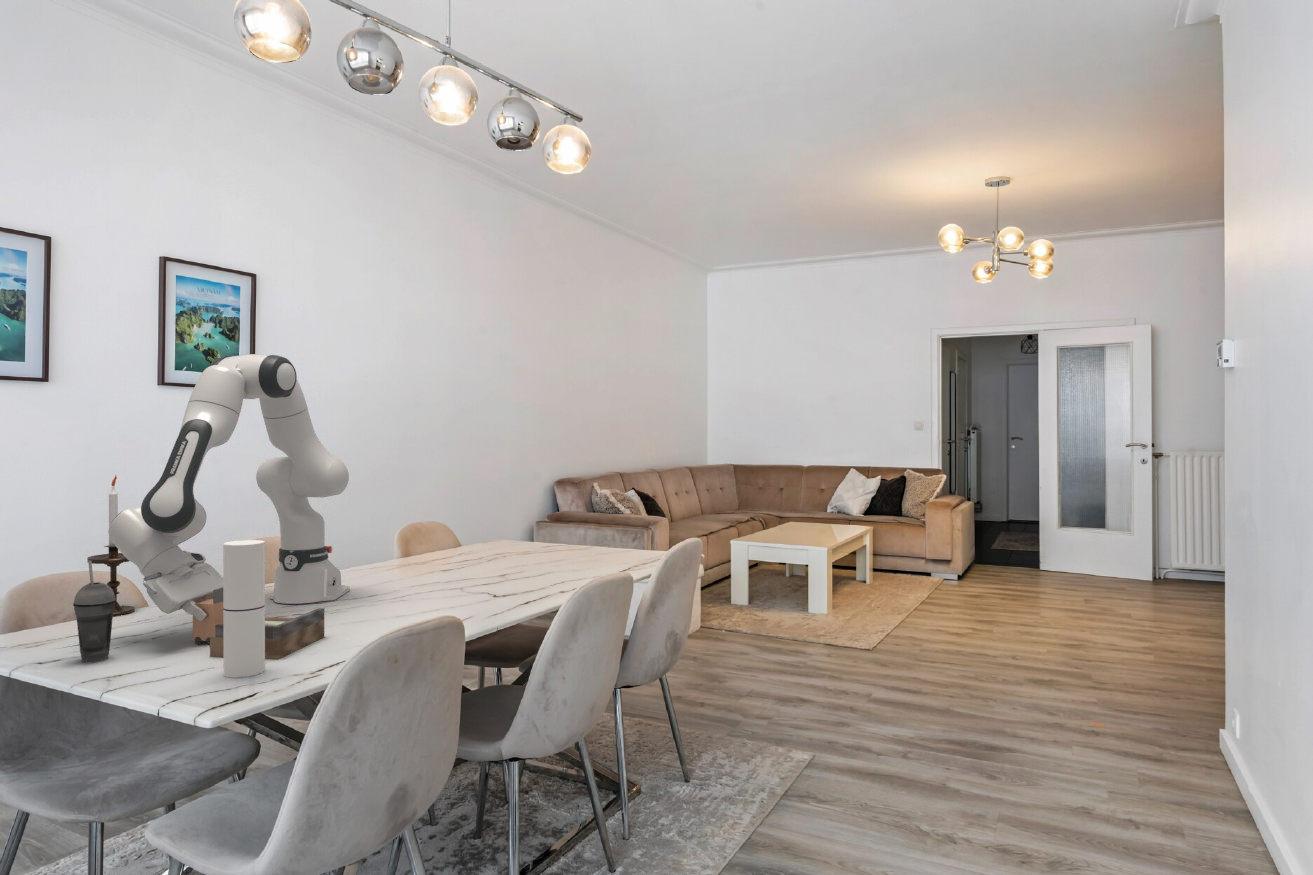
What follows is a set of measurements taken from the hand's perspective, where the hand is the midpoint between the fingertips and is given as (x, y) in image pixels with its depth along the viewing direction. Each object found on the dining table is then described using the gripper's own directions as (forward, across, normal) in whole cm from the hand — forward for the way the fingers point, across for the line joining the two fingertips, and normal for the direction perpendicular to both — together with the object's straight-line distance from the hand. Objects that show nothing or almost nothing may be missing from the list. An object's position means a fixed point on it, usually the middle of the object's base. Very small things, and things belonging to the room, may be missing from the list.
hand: (213, 614), depth 180 cm
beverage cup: (-7, -15, +16) cm, 23 cm away
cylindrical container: (+17, -22, -9) cm, 29 cm away
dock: (+14, -3, -6) cm, 16 cm away
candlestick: (-24, +26, +33) cm, 48 cm away
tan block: (+4, 0, +5) cm, 6 cm away
